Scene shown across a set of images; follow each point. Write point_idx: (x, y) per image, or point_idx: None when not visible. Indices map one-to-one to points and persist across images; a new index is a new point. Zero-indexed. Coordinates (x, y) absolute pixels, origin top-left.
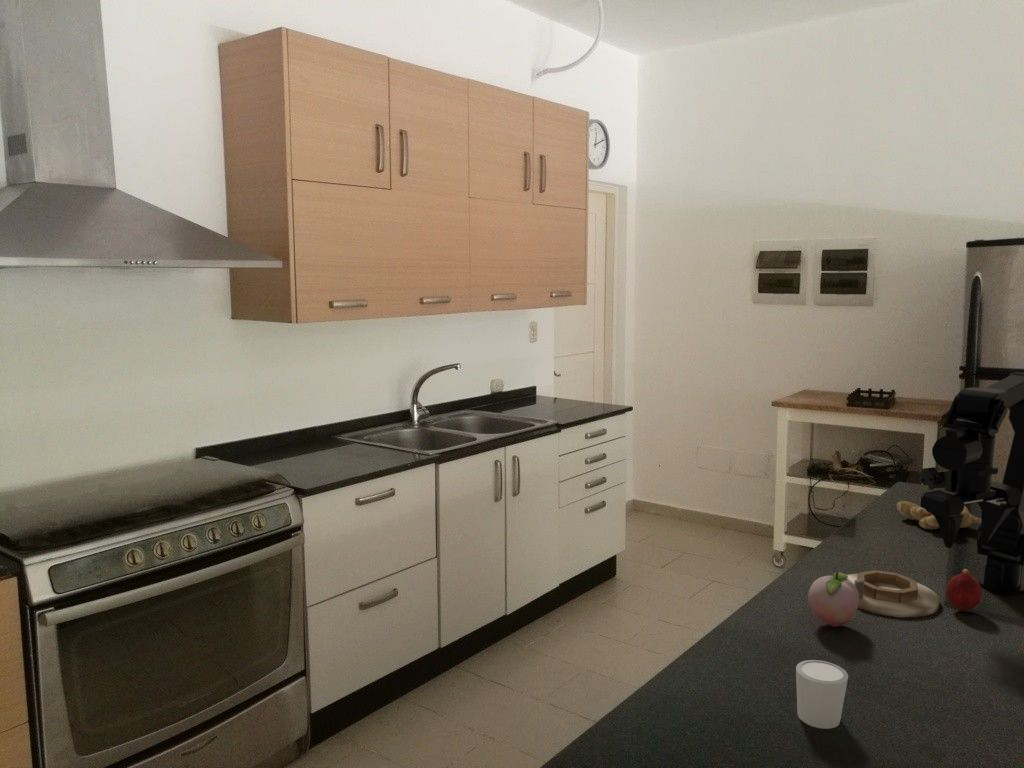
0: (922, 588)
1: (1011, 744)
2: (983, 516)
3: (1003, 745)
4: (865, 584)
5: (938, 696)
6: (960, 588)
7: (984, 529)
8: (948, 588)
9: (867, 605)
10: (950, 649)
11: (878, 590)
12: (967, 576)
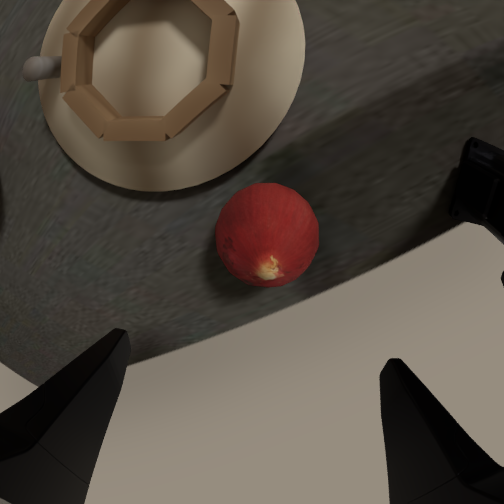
0: (276, 82)
1: None
2: (436, 462)
3: (43, 383)
4: (62, 59)
5: (24, 335)
6: (221, 259)
7: (400, 412)
8: (221, 215)
9: (46, 116)
10: (94, 295)
11: (66, 101)
12: (255, 279)
